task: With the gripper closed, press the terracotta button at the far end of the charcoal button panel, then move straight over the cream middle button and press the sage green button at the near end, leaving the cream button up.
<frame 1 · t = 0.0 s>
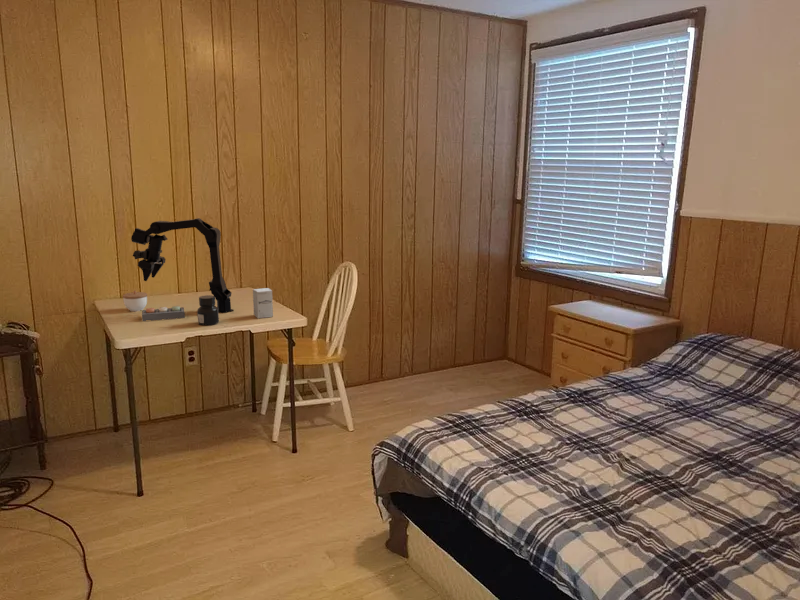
hand: (149, 279, 289), 15 cm above the table, tool pointing down, fingers open, 9 cm apart
lidded jar: (136, 310, 294), on the table
ink bottle: (208, 323, 271), on the table
button panel: (163, 317, 281), on the table
terracotta button: (150, 310, 278), point 3 cm above the table, slide at 0.0 cm
cream button: (163, 310, 280), point 3 cm above the table, slide at 0.0 cm
sage button: (175, 309, 282), point 3 cm above the table, slide at 0.0 cm
supplement box: (263, 316, 284), on the table
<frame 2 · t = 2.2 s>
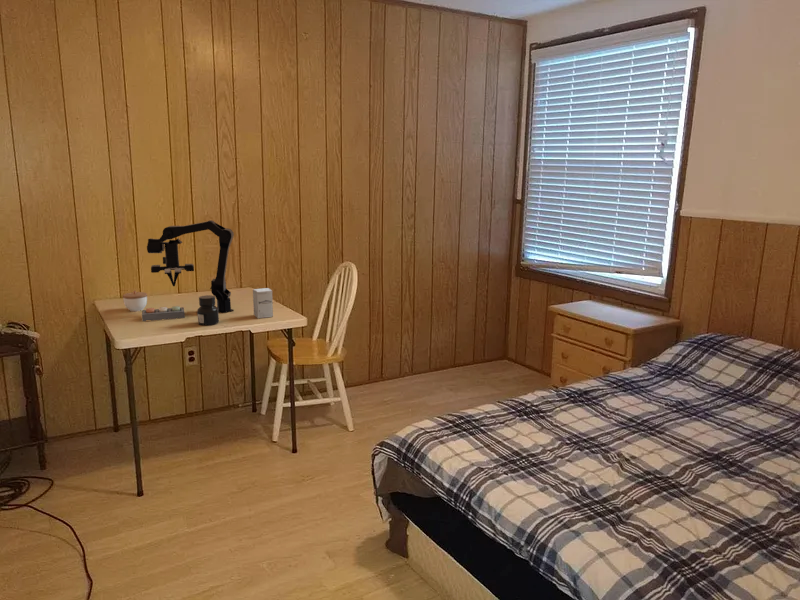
hand: (173, 286, 288), 13 cm above the table, tool pointing down, fingers closed
nothing on the table moved.
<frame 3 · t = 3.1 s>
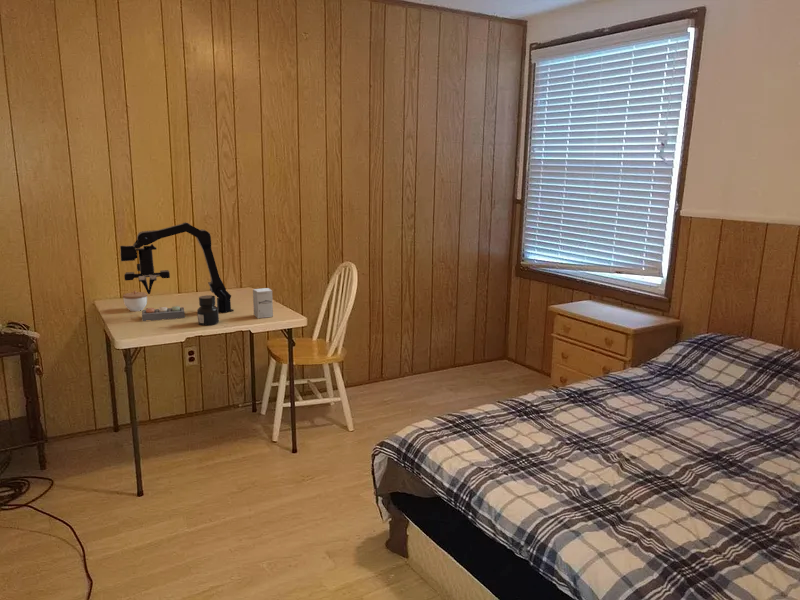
hand: (149, 293, 277), 11 cm above the table, tool pointing down, fingers closed
nothing on the table moved.
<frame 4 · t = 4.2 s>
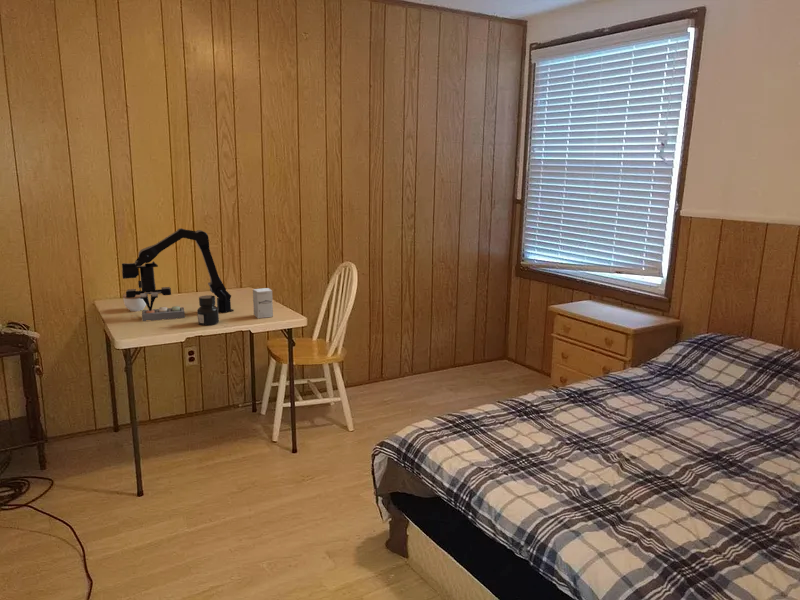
hand: (150, 310, 278), 3 cm above the table, tool pointing down, fingers closed, pressing on terracotta button
terracotta button: (150, 312, 279), point 2 cm above the table, slide at 0.9 cm, touching gripper
everything else where it was.
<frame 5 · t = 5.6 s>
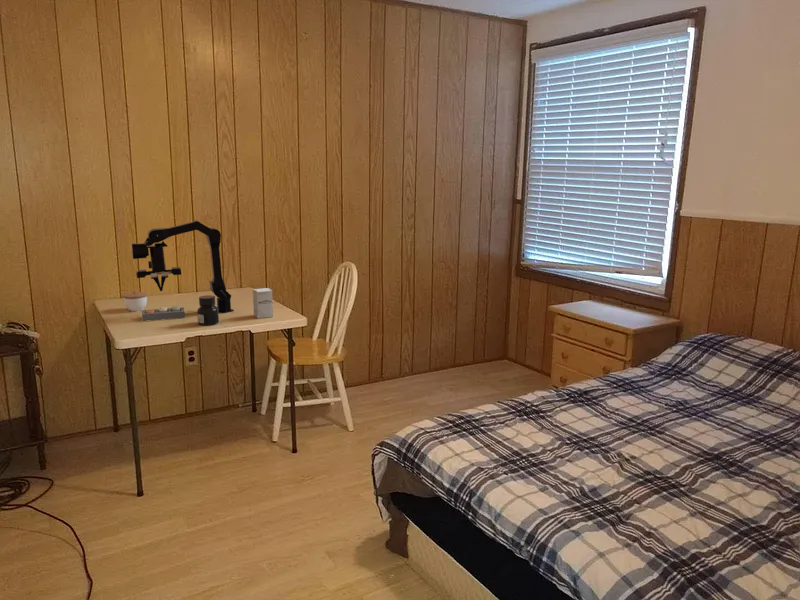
hand: (161, 291, 278), 12 cm above the table, tool pointing down, fingers closed
terracotta button: (150, 313, 279), point 2 cm above the table, slide at 1.0 cm
everything else where it was.
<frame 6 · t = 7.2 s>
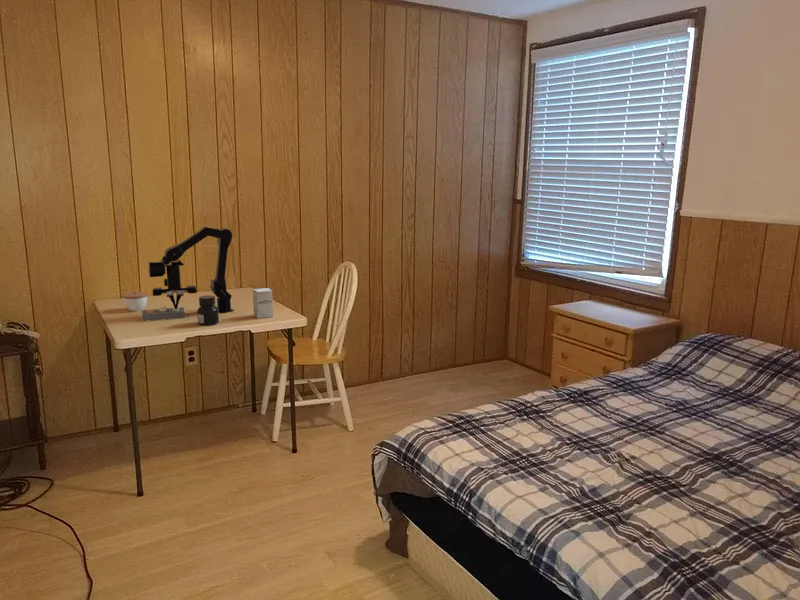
hand: (176, 308, 282), 4 cm above the table, tool pointing down, fingers closed, pressing on sage button
sage button: (176, 310, 282), point 3 cm above the table, slide at 0.9 cm, touching gripper
everything else where it was.
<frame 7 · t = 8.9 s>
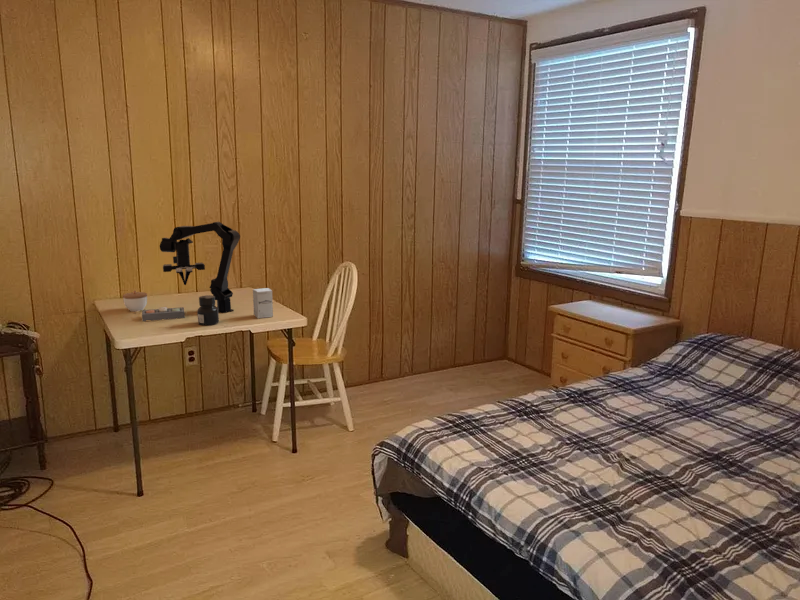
hand: (185, 284, 294), 12 cm above the table, tool pointing down, fingers closed
sage button: (176, 311, 282), point 2 cm above the table, slide at 1.0 cm
everything else where it was.
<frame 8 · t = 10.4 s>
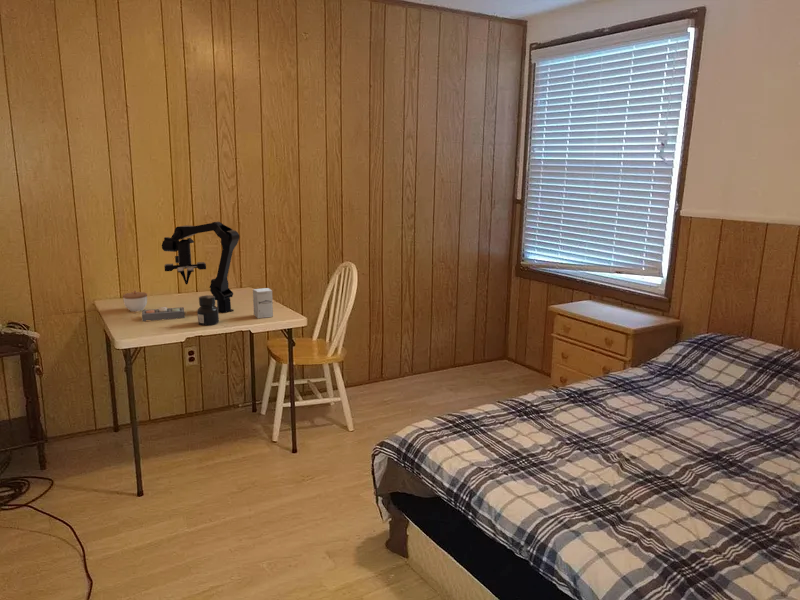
hand: (186, 284, 295), 12 cm above the table, tool pointing down, fingers closed
nothing on the table moved.
at the end: terracotta button slide at 1.0 cm; sage button slide at 1.0 cm; cream button slide at 0.0 cm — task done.
